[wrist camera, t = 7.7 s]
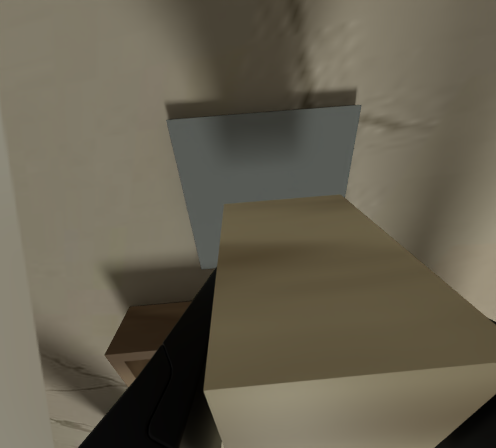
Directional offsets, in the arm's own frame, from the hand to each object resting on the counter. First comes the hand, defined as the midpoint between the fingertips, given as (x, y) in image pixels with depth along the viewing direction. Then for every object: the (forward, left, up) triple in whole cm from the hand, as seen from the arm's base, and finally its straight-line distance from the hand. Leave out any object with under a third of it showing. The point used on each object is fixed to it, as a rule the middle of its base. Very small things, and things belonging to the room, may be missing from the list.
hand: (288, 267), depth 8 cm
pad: (0, 0, -7) cm, 7 cm away
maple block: (0, 0, -1) cm, 1 cm away
